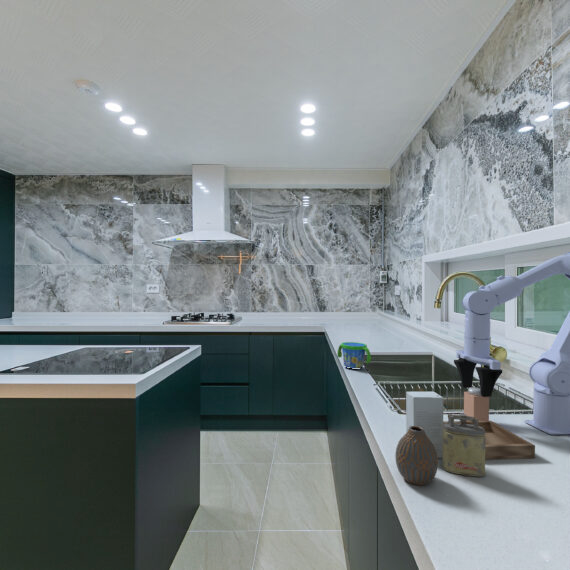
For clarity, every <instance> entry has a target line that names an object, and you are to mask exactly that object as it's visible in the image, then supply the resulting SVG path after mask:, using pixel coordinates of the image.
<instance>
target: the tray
mask: <svg viewBox="0 0 570 570" xmlns="http://www.w3.org/2000/svg"><path fill="white" fill-rule="evenodd" d="M447 422H448V420H447V421H444V420H443V429H444V423H447ZM454 423H461V421H460V420H454ZM465 424H470V425H474V423H473V422H471V421H467V422H465ZM478 426H480V427H482V428H484V429H485V460H508V459H510V460H511V459H512V460H515V459H536V445H535V444H533V443H531V442H529V441H528V440H526V439H524V438H522V437H521V436H519V435H517V434H515V433H514V432H512V431H510V430H508V429H506V428H504V427H502V426H501V425H499V424H498V423H496V422H493V421H492V420H489V421H478Z"/></svg>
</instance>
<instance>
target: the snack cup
mask: <svg viewBox="0 0 570 570" xmlns="http://www.w3.org/2000/svg"><path fill="white" fill-rule="evenodd" d="M365 355H367V356H366V364H369V363H371V361H372V355H371V352H370V350H369V348H368V346H367V344H366V343H361V342H354V341H352V342H351V341H350V342H349V341H348V342H347V341H346V342H342V343H340V345H339V346H338V349H337V357H338V358H342V359H343V365H344V366H346V367H350V368H361V367H362V368H363V367H364V361H365Z"/></svg>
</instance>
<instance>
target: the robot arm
mask: <svg viewBox="0 0 570 570" xmlns="http://www.w3.org/2000/svg"><path fill="white" fill-rule="evenodd" d="M556 275H564V276H565V277H566V278H567V279H568V280H569V281H570V251H568V252H565V253H563V254H561V255H557V256H555V257H552V258H549V259H548V260H546V261H544V262H542V263H539V264H538V265H536V266H534V267H532V268H530V269H528V270H527V271H524V272H523V273H520V274H519V275H516V276H512V275H505V276H504V275H500V276H497V277H496V280H494V281H492V282H490V283H487V284H486V285H483V284H481V285H480V286H478V290H472V291H469V292H467V293H466V294H465V295H464V297H463V298H462V301H461V306H462V308H463V309H464V315H465V316H464V335H463V336H464V337H463V338H464V339H463V341H464V343H463V345H464V347H463V349H464V350H461V349H460V350H456V353H455V354H456V355H455V357H456V358H457V359H453V364H454V365H455V367H456V370H457V371H458V375H459V379H460V382H461V386H462V388H463V389H468V388H470V387H472V386H473V380H474V372H475V370H476V373H477V375H478V380H479V388H480V392H481V396H482V397H489V398H491V397H492V394H493V392H494V387H495V386H496V383H497V381H498V379H500V376H501V375H502V374H503V369H501V362H502V361H501V360H500V361H499V360H497V359H496V358H493V356H490V355H491V312H493V311H494V310H495V307H499V306H501V305H503V304H505V303H507V302H509V301H511V300H513V299H516V298H518V297H520V296H521V295H522V293H523V290H524V289H525V288H527V287H529V286H532V285H534V284H536V283H539V282H541V281H543V280H546V279H548V278H551V277H552V276H553V277H554V276H556ZM477 365H481V366H477ZM528 375H529V378H530V379H531V381H533V382H534V385H533V405H532V406H533V407H532V408H533V409H532V410H533V411H532V412H533V415H532V416H533V417H532V419H525V420H524V421H523V422H524V423H525V424H528V425H530V426H532V427H533V428H536V429H537V430H540V431H542V432H544V433H546V434H548V435H555V436H556V435H570V310H569V311H568V314H567V315H566V317H565V319H564V320H563V323H562V325H561V327H560V328H559V330H558V333H557V334H556V337H555V338H554V340H553V342H552V344H551V346H550V348H549V349H547V350H546V351H545V352H542V353H541V354H540V356H539V358H538V359H537V360H536V361H534V362H533V363H532V364H531V365H530V367H529V370H528Z"/></svg>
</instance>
